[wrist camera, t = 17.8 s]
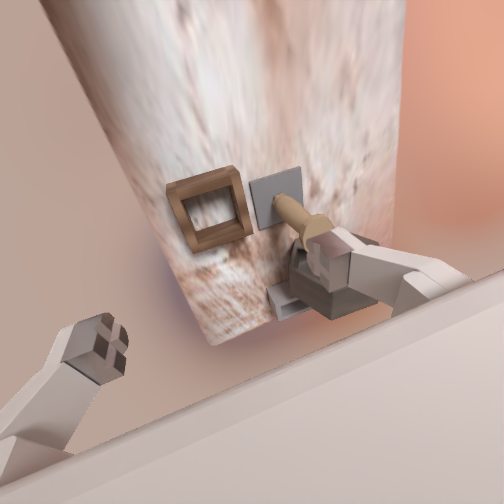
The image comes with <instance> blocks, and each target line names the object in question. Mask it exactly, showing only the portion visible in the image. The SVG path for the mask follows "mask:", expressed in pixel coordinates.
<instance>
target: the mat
mask: <svg viewBox="0 0 504 504" xmlns="http://www.w3.org/2000/svg"><path fill="white" fill-rule="evenodd" d="M249 184H250V189H251V194H252V198H253V203H254V208H255V212H256V217H257V222H258V227H259V229H260V230H261V229H263V228H266V227H269V226H272V225H275V224H278V223H281V222H284V220H283V219H282V218H281V216H280V215H279V214H278V213H277V211H276V209H275V208H274V206H273V205H272V202H273V200H274V196H275V195H278V194H280V193H284V194H285V195H287V196H289V197H291V198H293V199H294V200H296V201H297V202H298V203H300V204H301V205H302V206H303V207H304V205H303V190H302V176H301V167H296V168H292V169H289V170H286V171H283V172H279V173H276V174H273V175H270V176H266V177H263V178H260V179H257V180H254V181H250V182H249Z"/></svg>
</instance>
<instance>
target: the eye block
mask: <svg viewBox="0 0 504 504" xmlns="http://www.w3.org/2000/svg"><path fill="white" fill-rule="evenodd" d="M226 186H229V188H230V192H231V195H232V199H233V203H234V206H235V210H236V214H237V218H236V219H233V220H230V221H227V222H224V223H221V224H217V225H214V226H211V227H208V228H205V229H202V230H199V231H195V228H194V226H193V223H192V221H191V218H190V216H189V214H188V211H187V209H186V206H185V204H184V201H183V199H187V198H190V197H193V196H196V195H200V194H203V193H206V192H209V191H213V190H216V189H219V188H222V187H226ZM166 195H167V197H168V199H169V202H170V204H171V206H172V208H173V210H174V213H175V215H176V217H177V219H178V222H179V224H180V226H181V228H182V230H183V233H184V235H185V237H186V239H187V241H188V244H189V246H190V248H191V250H192V253H193V254H195V253H198V252H201V251H204V250H207V249H210V248H213V247H216V246H219V245H222V244H225V243H228V242H231V241H234V240H237V239H240V238H243V237H246V236H249V235H251V234H254V233H253V229H252V225H251V220H250V216H249V212H248V207H247V203H246V199H245V194H244V190H243V186H242V181H241V177H240V173H239V171H238V170H237V169H236V168H235V167H234V166H233V165H230V166H226V167H223V168H220V169H216V170H213V171H209V172H206V173H203V174H199V175H196V176H193V177H189V178H186V179H183V180H179V181H176V182H172V183H169V184H167V186H166Z"/></svg>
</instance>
